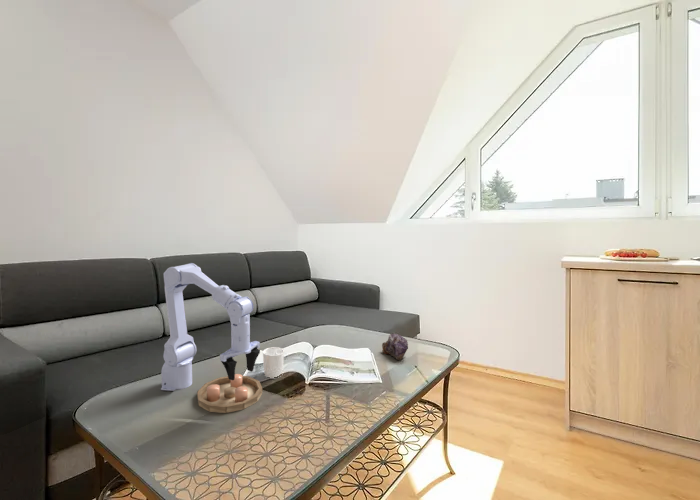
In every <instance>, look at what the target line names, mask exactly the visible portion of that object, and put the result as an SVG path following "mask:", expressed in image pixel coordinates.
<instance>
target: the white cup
mask: <svg viewBox="0 0 700 500" xmlns="http://www.w3.org/2000/svg"><path fill="white" fill-rule="evenodd" d="M262 360H263V361H262V364H263V372H264V374H265V375H264V374H263V375H264V377H265V376H267V377H270V378H269V379H275V378H274V377H277V376H279V375H280V374H281V372H282V370H283V371H284V362H285V361H284V360H285V350H284V348H282V347H278V346H273V347H267V348H264V349H263V351H262ZM267 377H266V378H267Z"/></svg>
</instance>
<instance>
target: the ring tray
mask: <svg viewBox="0 0 700 500" xmlns="http://www.w3.org/2000/svg"><path fill="white" fill-rule="evenodd" d="M213 384H217V385H219V386H220V399H219V400H217V401H215V402H209V401H207V387H208V386H210V385H213ZM242 386H244V387H247V388H248V399H246V400H245V401H243V402H238V403H235V389H236V388H235V387H231V380H230V379H229V378H228V375H227V376H226V375H225V376H221V377H217V378H215V379H212V380H209V381H207V382H205V383H204V384H203V385H202V386H201V387H200V388H199V389H198V390H197V405H198V407H200V408H202V409H204V410H205V411H208V412H210V413H221V414H222V413H223V414H227V413H233V412H238V411H243V410H245V409H247V408H249V407H250V406H253V405H254V404H256V403H257V402H259V400H260V398H261V397H262V395H263V386H262V384H261V382H260V380H259V379H255V378H253V377H251V376H249V375H242Z"/></svg>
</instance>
